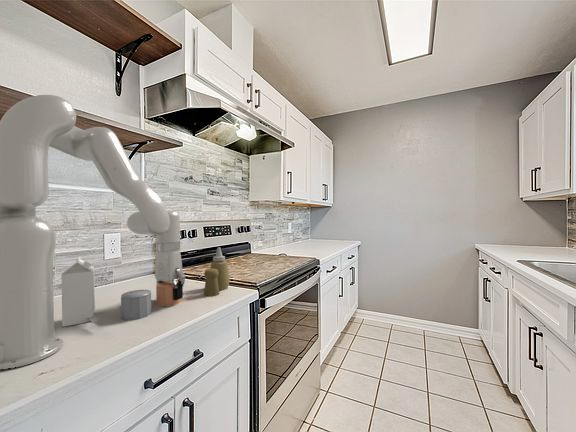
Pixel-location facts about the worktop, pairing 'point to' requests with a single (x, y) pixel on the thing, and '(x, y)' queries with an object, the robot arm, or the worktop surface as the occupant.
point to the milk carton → (78, 293)
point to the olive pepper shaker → (211, 283)
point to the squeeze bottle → (221, 269)
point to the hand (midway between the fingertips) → (170, 296)
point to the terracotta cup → (165, 294)
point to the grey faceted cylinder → (135, 304)
